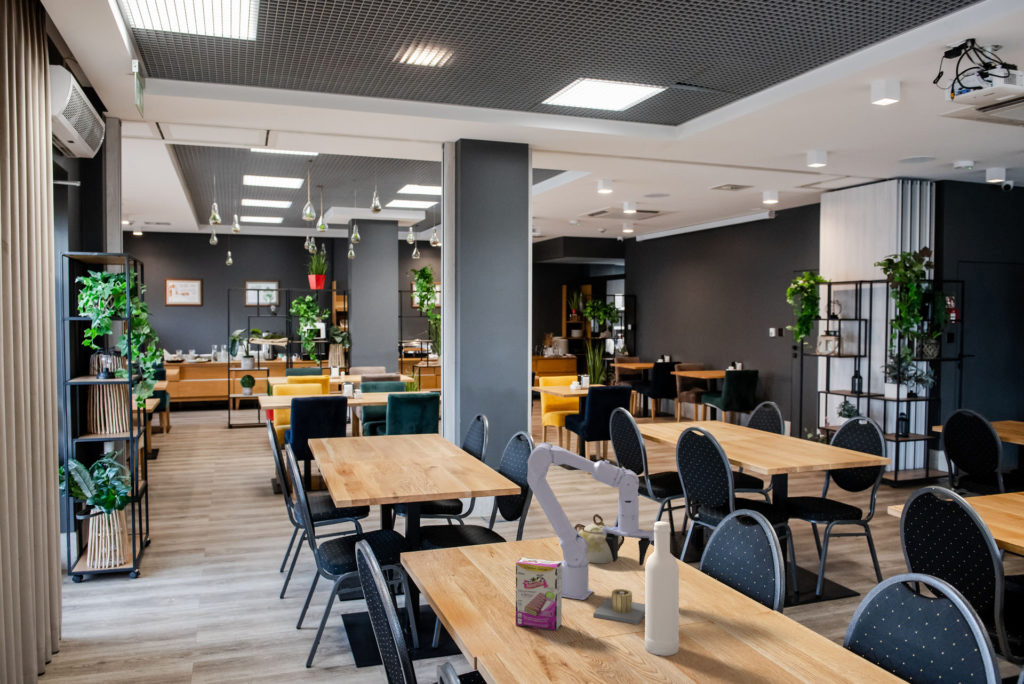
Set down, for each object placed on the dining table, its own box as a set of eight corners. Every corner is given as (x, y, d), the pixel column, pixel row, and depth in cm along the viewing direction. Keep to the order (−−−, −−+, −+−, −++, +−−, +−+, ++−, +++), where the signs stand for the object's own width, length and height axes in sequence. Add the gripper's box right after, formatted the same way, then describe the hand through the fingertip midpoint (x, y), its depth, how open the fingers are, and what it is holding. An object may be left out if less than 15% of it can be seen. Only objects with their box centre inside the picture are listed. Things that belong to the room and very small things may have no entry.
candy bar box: (514, 626, 191) (514, 562, 190) (521, 619, 195) (520, 556, 195) (557, 631, 187) (557, 566, 187) (562, 624, 192) (562, 560, 191)
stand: (593, 616, 197) (593, 596, 196) (607, 601, 207) (607, 582, 207) (638, 624, 191) (638, 603, 191) (649, 608, 202) (649, 588, 202)
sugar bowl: (560, 559, 246) (560, 513, 246) (587, 549, 257) (587, 505, 257) (610, 572, 233) (610, 524, 233) (636, 560, 244) (636, 515, 244)
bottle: (685, 654, 174) (685, 525, 174) (654, 658, 172) (654, 528, 171) (668, 640, 182) (668, 517, 181) (639, 644, 180) (639, 520, 179)
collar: (609, 610, 198) (609, 594, 198) (615, 604, 203) (615, 587, 203) (628, 614, 196) (628, 597, 196) (634, 607, 201) (634, 590, 200)
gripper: (599, 514, 210) (599, 563, 210) (649, 520, 204) (649, 570, 204) (607, 509, 216) (607, 556, 216) (656, 514, 210) (656, 562, 210)
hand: (628, 562), depth 211 cm, fingers open, 7 cm apart
